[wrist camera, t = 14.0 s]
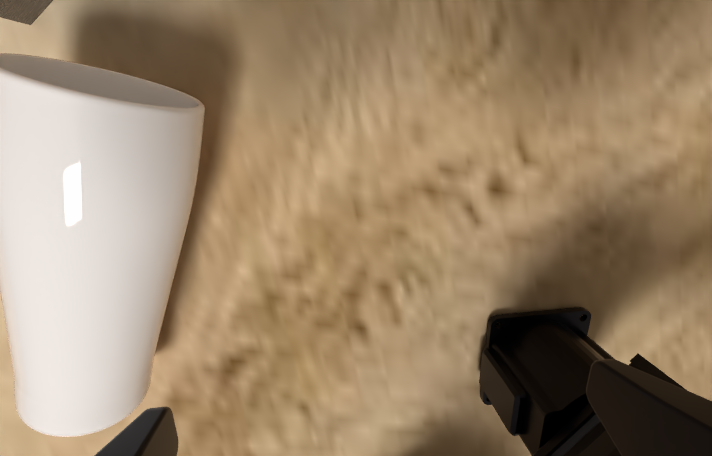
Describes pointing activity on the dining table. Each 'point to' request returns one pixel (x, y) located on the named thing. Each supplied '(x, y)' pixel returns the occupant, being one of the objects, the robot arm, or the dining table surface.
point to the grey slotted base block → (22, 9)
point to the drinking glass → (89, 233)
